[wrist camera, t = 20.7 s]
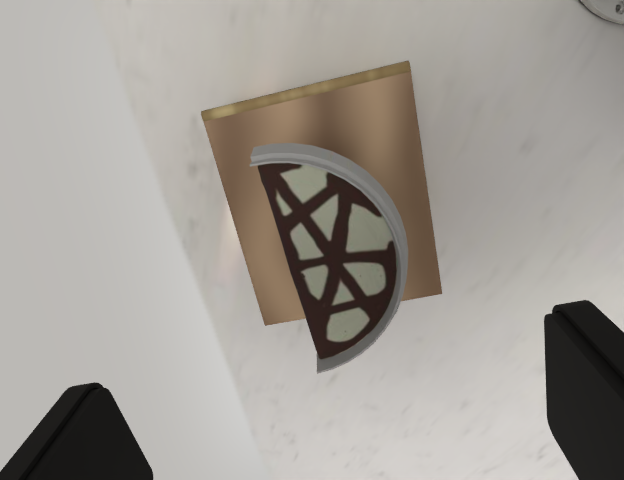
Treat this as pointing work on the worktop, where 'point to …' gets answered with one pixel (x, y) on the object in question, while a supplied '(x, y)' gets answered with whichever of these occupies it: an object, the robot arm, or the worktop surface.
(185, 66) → the worktop surface
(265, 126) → the lid
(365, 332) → the food container
